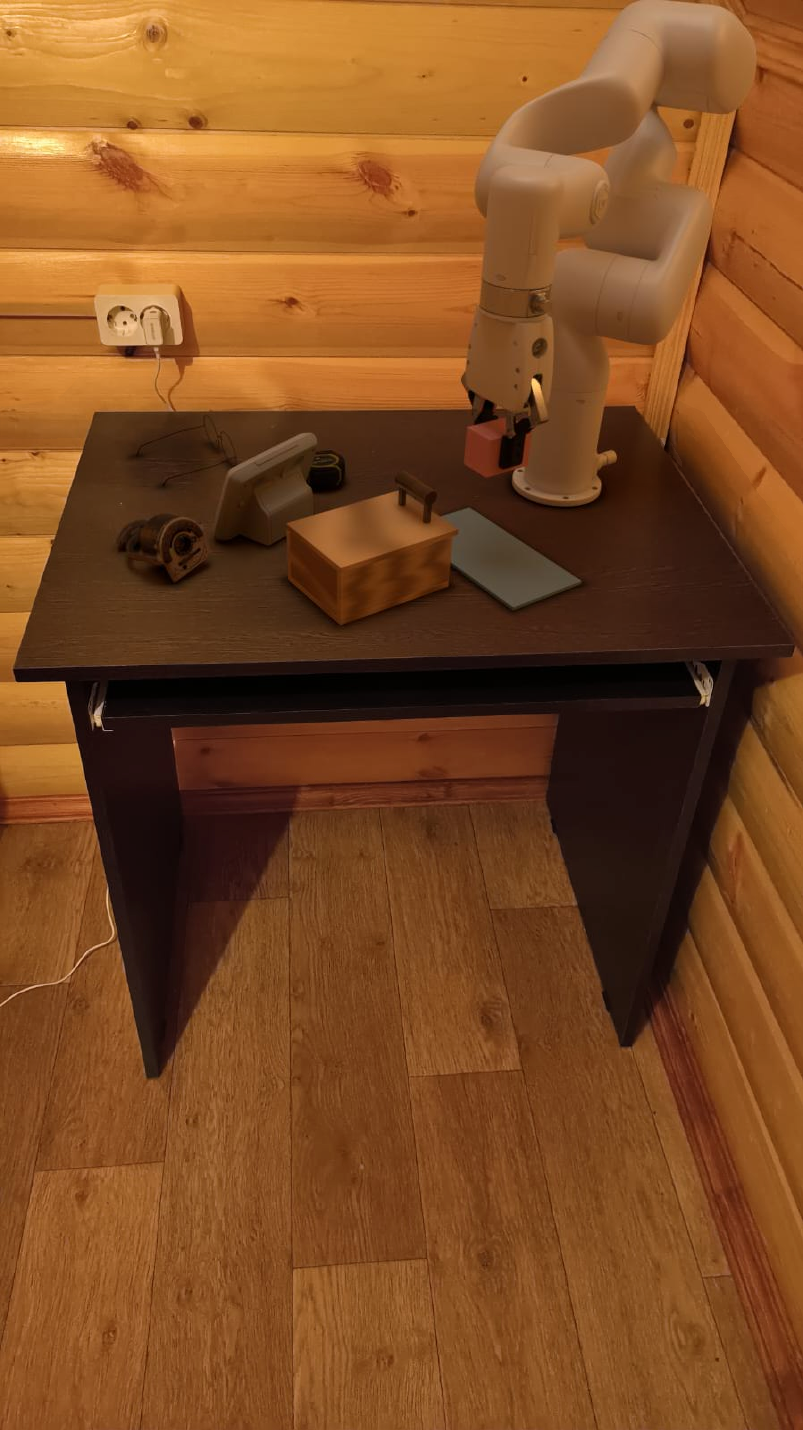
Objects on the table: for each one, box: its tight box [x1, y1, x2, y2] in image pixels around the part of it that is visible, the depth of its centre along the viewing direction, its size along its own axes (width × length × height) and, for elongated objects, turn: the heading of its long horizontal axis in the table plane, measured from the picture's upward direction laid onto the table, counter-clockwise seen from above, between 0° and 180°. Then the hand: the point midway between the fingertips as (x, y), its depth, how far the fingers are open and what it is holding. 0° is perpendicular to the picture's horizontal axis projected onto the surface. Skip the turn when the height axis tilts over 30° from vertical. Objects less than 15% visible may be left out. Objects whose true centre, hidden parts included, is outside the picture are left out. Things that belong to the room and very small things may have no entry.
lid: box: [286, 470, 458, 574], centre depth 118 cm, size 16×12×5 cm
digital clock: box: [212, 432, 319, 547], centre depth 130 cm, size 16×9×11 cm, turn 133°
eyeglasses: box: [135, 414, 237, 487], centre depth 144 cm, size 11×13×5 cm
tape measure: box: [306, 449, 346, 489], centre depth 142 cm, size 7×7×4 cm
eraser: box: [463, 416, 532, 478], centre depth 119 cm, size 6×4×5 cm, turn 126°
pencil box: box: [286, 530, 453, 626], centre depth 121 cm, size 16×12×7 cm
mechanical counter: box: [116, 513, 213, 583], centre depth 123 cm, size 7×13×10 cm
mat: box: [440, 507, 582, 612], centre depth 129 cm, size 11×22×1 cm, turn 36°
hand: (496, 456), depth 120 cm, fingers closed on eraser, 4 cm apart
